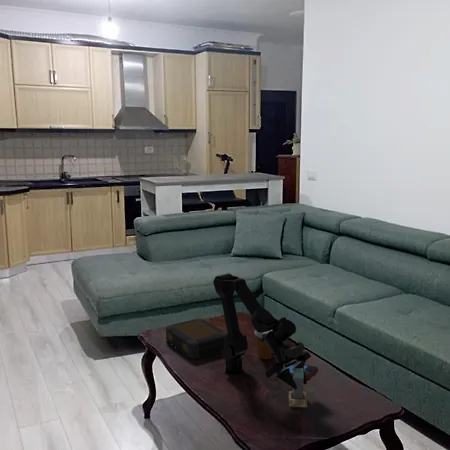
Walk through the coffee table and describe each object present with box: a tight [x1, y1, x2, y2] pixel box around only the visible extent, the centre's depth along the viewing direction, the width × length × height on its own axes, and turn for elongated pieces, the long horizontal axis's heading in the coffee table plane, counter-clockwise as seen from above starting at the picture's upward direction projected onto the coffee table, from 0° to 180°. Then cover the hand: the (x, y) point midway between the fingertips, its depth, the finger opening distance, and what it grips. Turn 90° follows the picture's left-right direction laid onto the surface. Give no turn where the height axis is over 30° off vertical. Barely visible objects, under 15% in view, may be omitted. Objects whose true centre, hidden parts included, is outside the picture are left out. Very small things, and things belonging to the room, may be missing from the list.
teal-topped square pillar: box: [292, 368, 304, 399], centre depth 174 cm, size 3×3×12 cm
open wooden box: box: [288, 390, 308, 408], centre depth 175 cm, size 6×6×3 cm
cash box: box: [165, 317, 228, 360], centre depth 225 cm, size 25×20×8 cm
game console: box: [287, 363, 319, 380], centre depth 199 cm, size 14×13×2 cm
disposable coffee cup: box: [254, 329, 273, 360], centre depth 212 cm, size 10×10×12 cm
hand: (301, 386), depth 173 cm, fingers closed on teal-topped square pillar, 5 cm apart
